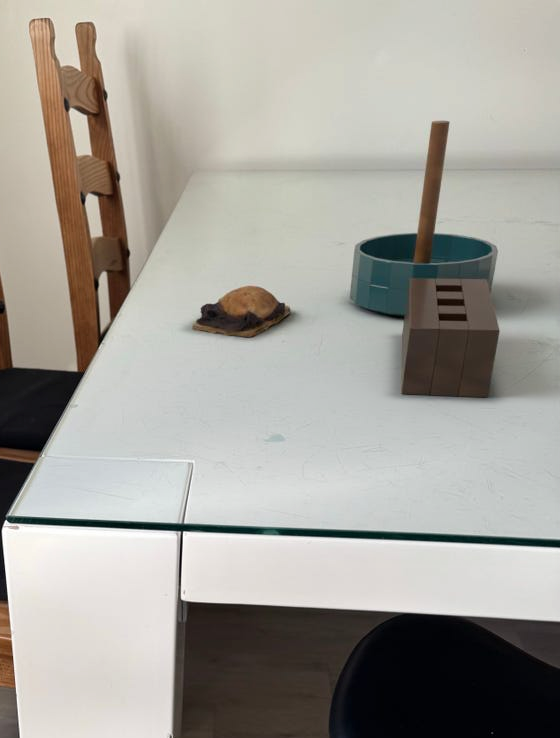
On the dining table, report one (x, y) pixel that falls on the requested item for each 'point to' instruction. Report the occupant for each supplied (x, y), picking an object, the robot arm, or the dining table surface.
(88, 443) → the dining table surface
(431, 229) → the stick
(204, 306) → the turtle figurine
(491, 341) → the holder
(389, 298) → the bowl
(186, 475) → the dining table surface
